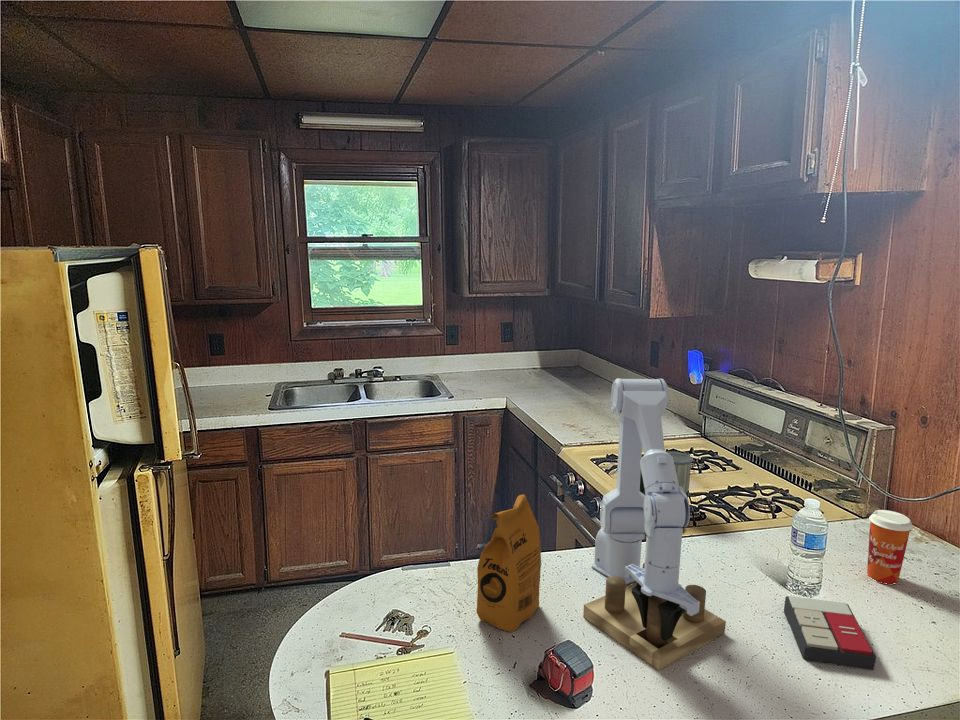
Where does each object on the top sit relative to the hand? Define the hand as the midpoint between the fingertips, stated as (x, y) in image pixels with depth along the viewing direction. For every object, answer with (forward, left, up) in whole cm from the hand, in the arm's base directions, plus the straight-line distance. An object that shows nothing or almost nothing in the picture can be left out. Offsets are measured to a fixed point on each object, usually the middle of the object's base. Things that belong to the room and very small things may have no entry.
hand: (657, 631), depth 110 cm
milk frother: (-34, +45, -4) cm, 56 cm away
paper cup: (+11, +59, -4) cm, 60 cm away
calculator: (+15, +28, -4) cm, 32 cm away
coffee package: (-23, -15, -4) cm, 28 cm away
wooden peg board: (-5, +5, -3) cm, 8 cm away
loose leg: (0, 0, -2) cm, 2 cm away
